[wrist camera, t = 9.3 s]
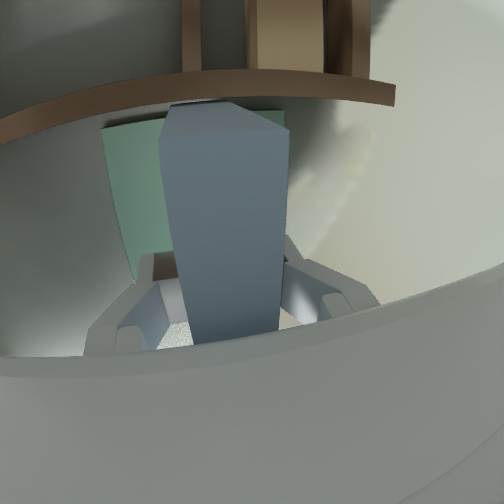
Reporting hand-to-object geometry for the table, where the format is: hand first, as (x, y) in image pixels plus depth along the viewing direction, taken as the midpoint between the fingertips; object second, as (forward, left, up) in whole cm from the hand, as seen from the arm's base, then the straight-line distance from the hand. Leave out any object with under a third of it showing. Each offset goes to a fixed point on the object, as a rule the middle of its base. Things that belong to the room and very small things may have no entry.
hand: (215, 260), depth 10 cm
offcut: (+9, -4, -7) cm, 12 cm away
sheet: (0, 0, -3) cm, 3 cm away
